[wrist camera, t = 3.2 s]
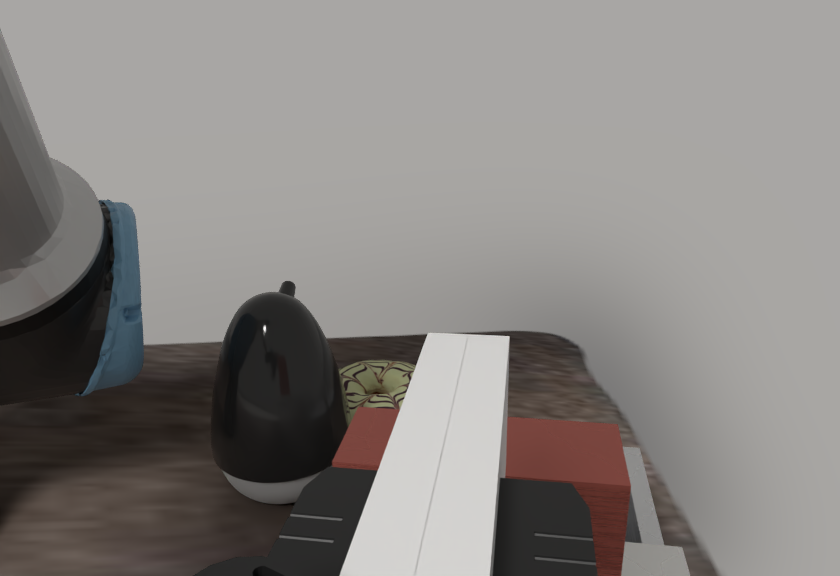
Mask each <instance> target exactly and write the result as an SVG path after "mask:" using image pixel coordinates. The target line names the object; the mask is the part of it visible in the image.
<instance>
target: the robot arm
mask: <svg viewBox="0 0 840 576" xmlns="http://www.w3.org/2000/svg"><path fill="white" fill-rule="evenodd" d="M140 287H141V286H140V268H139V254H138V241H137V229H136V219H135V214H134V212H133V209H132V208H131V207H130V206H129V205H127V204H125V203H117V202H115V203H114V202H112V201H110V200H99V201H98V199H97V197H96V195H95V193H94V191H93V190H92V188H91V187H90V186H89V184H88V183H87V182H86V181H85V180H84V179H83V178H82V177H81V176H80V175H79V174H78V173H76V172H75V171H74V170H72V169H71V168H69V167H68V166H66V165H65V164H63V163H61V162H59V161H57V160H55V159H52V158H50V157H49V155H48V152H47V150H46V147H45V145H44V142H43V139H42V137H41V134H40V131H39V129H38V126H37V123H36V121H35V118H34V116H33V113H32V111H31V108H30V105H29V103H28V100H27V97H26V95H25V92H24V90H23V87H22V84H21V82H20V79H19V77H18V74H17V71H16V69H15V66H14V64H13V61H12V58H11V56H10V53H9V50H8V48H7V45H6V43H5V40H4V38H3V35H2V32H1V30H0V406H1V405H8V404H14V403H20V402H27V401H33V400H40V399H46V398H53V397H59V396H65V395H72V394H74V395H76V396H86V395H88V394H90V393H91V392H92V391H95V390H100V389H105V388H109V387H114V386H119V385H123V384H126V383H128V382H130V381H132V380H133V379H134V378H135V377H136V376H137V375H138V374H139V373H140V371H141V369H142V366H143V360H144V345H143V325H142V312H141V288H140ZM509 337H510V336H493V335H471V334H449V333H428V335H427V337H426V340H425V343H424V346H423V348H422V351H421V354H420V356H419V359H418V362H417V365H416V367H415V370H414V373H413V376H412V378H411V381H410V384H409V387H408V389H407V392H406V395H405V397H404V400H403V403H402V406H401V408H400V411H399V414H398V417H397V419H396V422H395V425H394V428H393V430H392V433H391V436H390V439H389V441H388V444H387V447H386V449H385V452H384V455H383V458H382V460H381V463H380V466H379V469H378V471H377V470H365V469H352V468H339V467H327V468H326V469H325V470H324V471H322V472H321V473H320V474H319V475H318V476H316V477H315V478H314V479H313V480H312V481H310V482H309V483H308V484H307V485H305V486H304V487H303V489H302V491H301V493H300V495H299V497H298V499H297V501H296V503H295V505H294V507H293V509H292V511H291V515H290V517H288V518H287V520H286V522H285V524H284V526H283V528H282V530H281V532H280V536H279V539H276V541H275V543H274V545H273V547H272V549H271V551H270V553H269V555H268V557H263V556H255V557H236V558H233V559H229V560H226V561H223V562H220V563H216V564H213V565H210V566H208V567H207V568H205V569H203V570H202V571H200V572H199V573H197V574H195V575H194V576H598V573H597V567H596V557H595V548H594V542H593V532H592V524H591V515H590V508H589V507H588V505H587V504H586V502H585V501H584V500H583V498H582V497H581V496H580V494H579V493H578V491H577V490H576V489H575V487H574V486H573V484H572V483H563V482H550V481H537V480H525V479H512V478H505V472H506V447H507V411H508V374H509Z"/></svg>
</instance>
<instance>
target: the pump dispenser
mask: <svg viewBox="0 0 840 576" xmlns="http://www.w3.org/2000/svg"><path fill="white" fill-rule="evenodd" d="M294 295H295V284H294V283H293V282H291V281H285V282H283V283H282V285H281V288H280V290H279V292H268V293H262V294H259V295H256V296H254V297H252V298H251V299H249V300H248V301H246V302H245V303H244V304H243V305H242V306H241V307H240V308H239V309H238V311H237V312H236V314H235V315H234V317H233V319H232V321H231V323H230V325H229V327H228V329H227V332H226V335H225V337H224V340H223V344H222V347H221V351H220V355H219V360H218V365H217V370H216V376H215V382H214V389H213V397H212V409H211V447H212V454H213V458H214V460H215V462H216V464H217V465H218V466H219V467H220V468H221V469H222V471H223V473H224V475H225V476H226V478H227V479H228V481H229V482H230V483H231V484H232V486H233V487H234V488H235V489H236V490H238V491H239V492H240V493H242V494H243V495H245V496H246V497H248V498H250V499H253V500H255V501H259V502H262V503H268V504H288V503H294V502H296V501H297V499H298V497H299V495H300V493H301V491H302V489H303V487H304V486H305V485H307V484H308V483H309V482H310V481H312V480H313V479H314V478H315V477H316V476H318V475H319V474H320V473H321V472H322V471H324V470H325V469H326V468H327V467H332V461H333V459H334V457H335V455H336V452H337V450H338V448H339V446H340V444H341V442H342V440H343V438H344V436H345V434H346V431H347V429H348V427H349V425H350V423H351V421H352V419H351V413H350V409H349V404H348V400H347V396H346V392H345V388H344V385H343V381H342V378H341V375H340V372H339V369H338V367H337V364H336V361H335V359H334V356H333V353H332V351H331V349H330V346H329V344H328V342H327V339H326V337H325V335H324V334H323V332H322V330H321V328H320V326H319V324H318V323H317V321H316V320H315V318H314V317H313V315H312V314H311V313H310V311H309V310H308V309H307V308H306V307H305V306H304V305H303V304H302V303H301V302H300V301H299V300H297V299H296V298H294Z"/></svg>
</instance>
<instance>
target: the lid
mask: <svg viewBox="0 0 840 576" xmlns="http://www.w3.org/2000/svg"><path fill="white" fill-rule="evenodd" d="M399 411H400V409H385V408H371V407H358V408H357V410H356V412H355V415H354V417H353V419H352V421H351V423H350V425H349V427H348V429H347V431H346V434H345V436H344V438H343V440H342V442H341V444H340V446H339V448H338V450H337V452H336V455H335V457H334V459H333V461H332V467H339V468H352V469H365V470H377V471H378V469H379V466H380V463H381V460H382V458H383V455H384V452H385V449H386V447H387V444H388V441H389V439H390V436H391V433H392V430H393V428H394V425H395V422H396V419H397V417H398V414H399ZM505 478H512V479H525V480H537V481H550V482H563V483H572V484H573V486H574V487H575V489H576V490H577V491H578V493H579V494H580V496H581V497H582V498H583V500H584V501H585V502H586V504H587V505H588V507H589V508H590V515H591V524H592V532H593V542H594V548H595V557H596V567H597V573H598V576H690V573H689V570H688V566H687V563H686V559H685V556H684V552H683V549H682V547H675V546H664V545H654V544H643V543H632V542H625V536H626V527H627V518H628V509H629V500H630V491H631V483H630V479H629V474H628V470H627V465H626V460H625V456H624V451H623V446H622V442H621V437H620V432H619V428H618V424H606V423H591V422H576V421H562V420H547V419H532V418H517V417H507V447H506V472H505Z"/></svg>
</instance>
